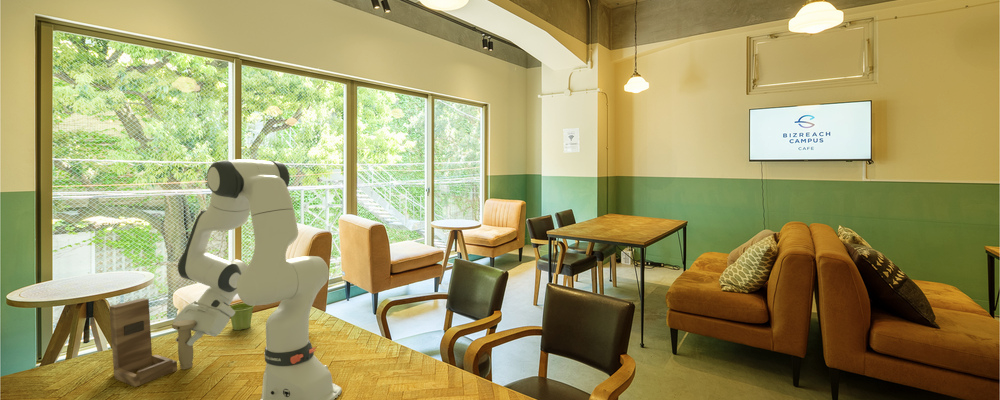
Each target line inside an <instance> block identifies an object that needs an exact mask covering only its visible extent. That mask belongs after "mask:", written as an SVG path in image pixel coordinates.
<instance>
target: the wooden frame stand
mask: <svg viewBox="0 0 1000 400" xmlns="http://www.w3.org/2000/svg"><path fill="white" fill-rule="evenodd" d="M108 308H109V309H108V310H109V321H110V335H111V338H110V339H111V349H112V350H111V351H112V352H111V353H112V362H113V363H112V365H113V375H114V379H115V380H116V381H119V382H122V383H125V384H127V385H130V386H131V387H135V388H136V387H139V386H141V385H143V384H146V383H149V382H151V381H154V380H157V379H159V378H161V377H163V376H167V375H169V374H172V373H173V372H176V371H178V361H177V360H174V359H171V358H170V357H169V358H168V357H165V356H163V355H159V354H153V349H152V333H151V331H152V330H151V316H150V300H149V299H148V298H145V297H141V298H137V299H133V300H129V301H126V302H125V301H124V302H121V303H117V304H113V305H109V307H108ZM134 372H136V373H134Z"/></svg>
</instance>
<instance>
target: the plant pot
mask: <svg viewBox="0 0 1000 400" xmlns="http://www.w3.org/2000/svg"><path fill="white" fill-rule="evenodd" d="M229 306H230V307H231V308H232V309H233V310H234V311H235V314H234V315H233V316H232V317H230V321H231V325H232V330H235V331H241V330H246V329H249V328H250V327H251V323H252V316H253V311H254V308H255V306H256V305H254V306H250V305H247V304H245V303H244V302H242V303H241V302H240V303H235V304H232V305H229Z"/></svg>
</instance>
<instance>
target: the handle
mask: <svg viewBox="0 0 1000 400" xmlns="http://www.w3.org/2000/svg"><path fill="white" fill-rule="evenodd" d="M194 326H196V321H194V320H181V321H177V322H174V323H173V322H172V324H171V327H172V329H174V330H176V331H177V333H178V335H177V337H178V342H177V355H178V356H177V357H178V362H179V367H180V369H181V370H186V369H187V370H189V369H191V368H193V366H194V365H193V364H194V344H193V345H192V346H189V345H187V344H185V342H186V341H187V339H188V338H191V337H192V336H193V335H192V330H191V328H193V327H194Z"/></svg>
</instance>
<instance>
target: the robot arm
mask: <svg viewBox="0 0 1000 400" xmlns="http://www.w3.org/2000/svg"><path fill="white" fill-rule="evenodd" d="M290 177H291V176H290V172H289V169H288V168H287V167H286V165H285V164H284V163H282V162H280V161H276V160H260V159H250V158H249V159H248V158H247V159H246V158H245V159H244V158H243V159H231V160H228V159H224V160H219V161H215V162H213V163H212V164H211V165H210V166H209V167H208V170H207V172H206V181H207V185H208V188H209V190H210V191H211V195H210V201H209V205H208V207H207V208H206V209H204V210H201V212H200V213H198V215H197V217H196V219H195V221H194V223H193V226H192V228H191V231H190V234H189V237H188V240H187V242H186V245H185V249H184V251H183V253H182V254H181V257H180V259H179V260H178V263H177V271H178V274H179V276H180V277H181V278H183V279H186V280H190V281H194V282H197V283H199V284H202V285H205V286H208V288H207V289H206V290H205V291H204V292H203V294H202V295H201V296H200V298H199V299H198V300H195V301H193V302H190V303H189V304H187V305H186V306H185V307H184V308H182V310H180V311H179V313H178V314H176V316H175V317H174V318H173V321H172V324H173V323H174V322H177V321H181V320H194V321H196V326H194V327H193V328H191V332H192V331H193V332H194V334H193V335H191V336H192V337H191V338H188V339H187V341H186V342H185V344H187V345H189V346H192V345H193V346H194V345H195V344H194V343H195V342H197V341H198V340H199V339H201V338H202V337H203V336H204V335H208V336H212V337H217V336H219V335H220V334H221V333H222V332H223V330H224V329H225V328H226V326H227V325H228V324H229V322H230V321H231V317H232V316H233V315H234V314H235V311H234V310H233V309H232V308H231V307H230V306H231V304H232V302H233V300H234V297H235V296H236V295H238V298H239V299H240V301H242V303H245V304H247V305H250V306H254V305H255V306H263V305H265V306H266V305H270V304H274V303H277V302H280V303H279V305H278V306H277V308H276V309H275V310H274V311H273V312H272V313H271V314H270V315H269V317H268V318H267V319H266V321H265V340H266V341H265V343H266V346H265V348H264V354H263V355H264V361H265V364H266V365H265V370H264V373H263V375H262V376H263V377H262V390H261V398H260V400H335V398H336V399H337V398H338V397H339V396H340V395H341V394H342V390H343V388H342V387H341V386H339V385H337V384H336V383H333V377H332V373H331V371H330V370H329V368H328V365H326V364H323V363H322V362H321V361H320V360H319V358H318V357H316V355H315V352H316V351H317V350H316V348H317V347H316V346H314V347H313V346H312V343H311V341H310V337H309V335H310V334H309V329H310V328H309V327H310V324H309V323H310V314H311V310H312V306H313V305H314V303H315V302H314V301H315V300H316V297H317V295H318V294H319V293H320V291H321V289H322V288H323V287H324V286H325V285H326V284H327V282H328V280H329V276H330V271H329V267H328V264H327V263H326V261H325V260H324V258H322V257H321V256H318V255H317V256H314V255H305V256H304V255H302V256H298V257H293V258H288V259H286V258H287V257H286V255H287V251H288V248H289V246H290V245H292V244H293V243H294V242H295V241H296V240H297V239H298V236H299V230H298V223H297V218H296V214H295V209H294V208H295V207H294V203H293V201H292V197H291V193H290V191H289V189H288V187H289V184H290V180H291V179H290ZM249 216H250V217H251V222H252V226H253V227H252V228H253V235H254V250H253V254H252V257H251V260H250V262H249V263H248V264H247V262H244V261H243V260H240V259H232V260H229V259H225V258H222V257H220V256H217V255H214V254H211V253H210V252H209V251H208V250H207V249H206V248H207V245H208V242H209V239H210V237H211V233H212V232H215V231H216V232H217V231H218V232H219V231H221V232H223V231H224V232H225V231H231V230H235V229H238V228H241V226H243V225H244V224H245V223H247V221H248V219H249ZM255 306H254V307H255ZM175 342H177V343H178V336H177V337H176V338H175ZM338 395H339V396H338Z"/></svg>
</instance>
